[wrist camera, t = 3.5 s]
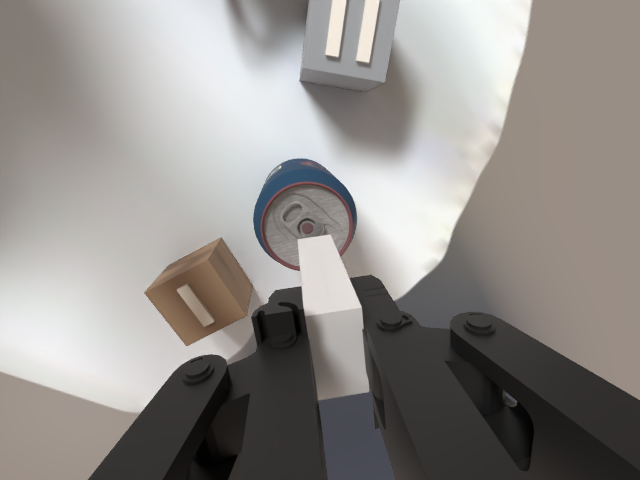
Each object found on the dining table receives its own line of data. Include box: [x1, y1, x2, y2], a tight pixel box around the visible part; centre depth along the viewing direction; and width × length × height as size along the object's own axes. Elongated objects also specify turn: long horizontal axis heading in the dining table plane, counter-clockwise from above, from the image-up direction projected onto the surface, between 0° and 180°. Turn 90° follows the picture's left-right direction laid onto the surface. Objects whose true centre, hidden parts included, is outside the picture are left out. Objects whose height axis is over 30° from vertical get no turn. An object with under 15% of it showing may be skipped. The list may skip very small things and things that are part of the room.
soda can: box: [253, 159, 357, 271], centre depth 26 cm, size 7×7×12 cm
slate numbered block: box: [299, 0, 400, 92], centre depth 25 cm, size 6×6×6 cm
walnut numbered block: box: [144, 238, 253, 346], centre depth 30 cm, size 6×6×6 cm
